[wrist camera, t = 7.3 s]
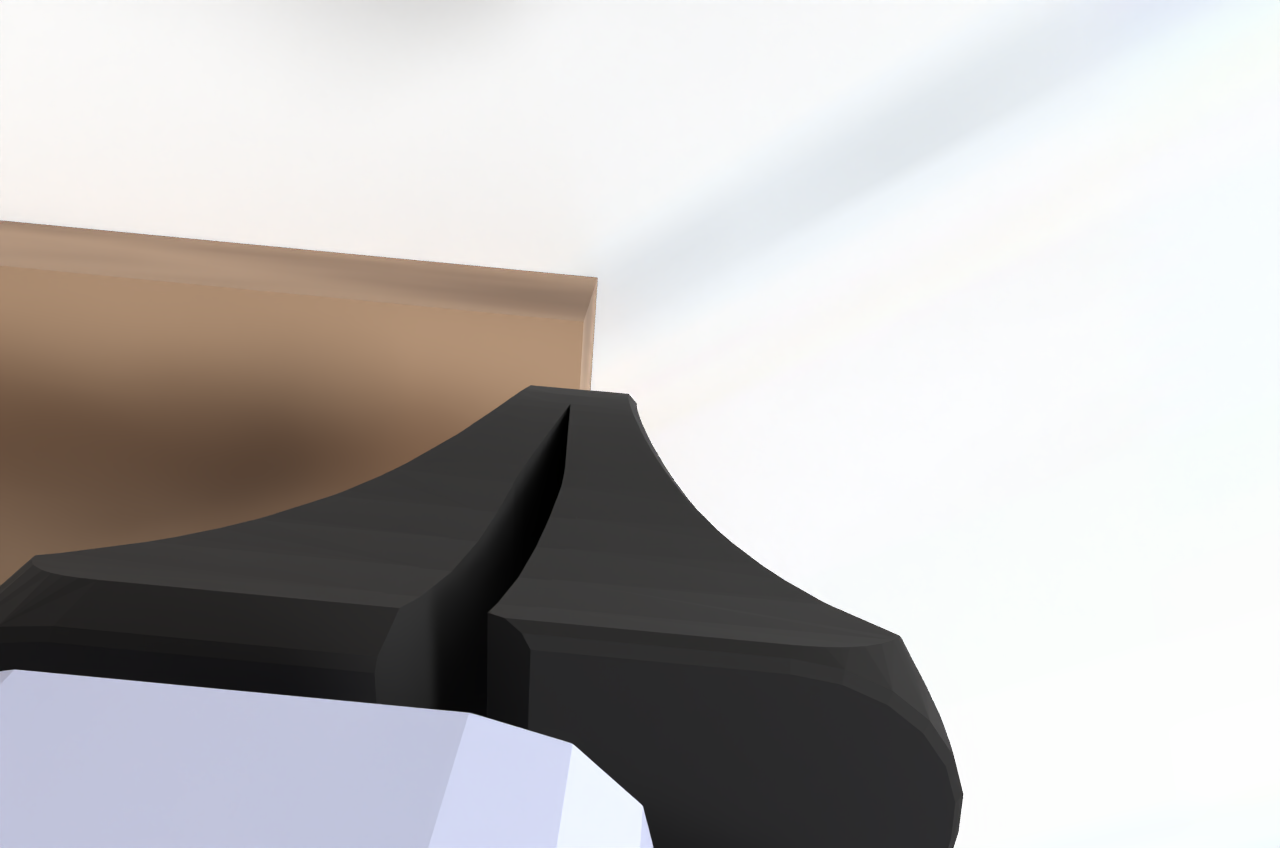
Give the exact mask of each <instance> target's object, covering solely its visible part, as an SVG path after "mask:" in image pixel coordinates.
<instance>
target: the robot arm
mask: <svg viewBox="0 0 1280 848" xmlns="http://www.w3.org/2000/svg"><path fill="white" fill-rule="evenodd" d="M962 800H963V791H962V787H961V783H960V779H959V775H958V771H957V767H956V763H955V759H954V755H953V752H952V748H951V745H950V742H949V739H948V736H947V733H946V731H945V728H944V725H943V722H942V720H941V717H940V715H939V712H938V710H937V708H936V706H935V704H934V702H933V700H932V698H931V696H930V693H929V691H928V689H927V687H926V685H925V683H924V681H923V679H922V677H921V675H920V673H919V671H918V669H917V668H916V666H915V664H914V662H913V660H912V658H911V656H910V654H909V652H908V650H907V648H906V646H905V644H904V642H903V640H902V639H901V637H900V636H899V635H897V634H894V633H892V632H890V631H888V630H885V629H883V628H881V627H878V626H876V625H874V624H871V623H869V622H867V621H865V620H862V619H860V618H858V617H855V616H853V615H851V614H848V613H846V612H844V611H842V610H839V609H837V608H835V607H832V606H830V605H828V604H826V603H824V602H822V601H820V600H818V599H817V598H815V597H813V596H811V595H810V594H808V593H806V592H804V591H803V590H801V589H799V588H797V587H796V586H794V585H792V584H790V583H789V582H787V581H785V580H783V579H782V578H780V577H779V576H777V575H776V574H774V573H773V572H771V571H770V570H768V569H767V568H765V567H763V566H762V565H761V564H759V563H758V562H757V561H755V560H754V559H753V558H751V557H750V556H749V555H747V554H746V553H745V552H743V551H742V550H741V549H740V548H738V547H737V546H736V545H734V544H733V543H732V542H731V541H729V540H728V539H727V538H726V537H725V536H724V535H722V534H721V533H720V532H719V531H718V530H717V529H716V528H715V527H714V526H713V525H712V524H711V523H710V522H709V521H708V520H707V519H706V518H705V517H704V516H703V515H702V514H701V513H700V512H699V511H698V510H697V509H696V508H695V507H694V506H693V504H692V503H691V502H690V501H689V500H688V498H687V497H686V496H685V494H684V493H683V492H682V490H681V489H680V488H679V486H678V485H677V484H676V482H675V481H674V479H673V478H672V476H671V475H670V473H669V472H668V470H667V469H666V467H665V466H664V464H663V462H662V461H661V459H660V457H659V456H658V454H657V452H656V451H655V449H654V447H653V445H652V444H651V442H650V440H649V438H648V436H647V434H646V431H645V429H644V427H643V425H642V422H641V420H640V417H639V414H638V411H637V403H636V402H635V401H634V400H633V399H632V397H631V396H630V395H629V394H623V393H612V392H601V391H590V390H579V389H568V388H557V387H546V386H534V385H530V386H528V387H526V388H525V389H523V390H522V391H520V392H519V393H517V394H516V395H514V396H513V397H511V398H510V399H509V400H507V401H506V402H504V403H503V404H501V405H500V406H499V407H497V408H496V409H494V410H493V411H491V412H490V413H488V414H487V415H485V416H484V417H482V418H481V419H479V420H478V421H476V422H475V423H473V424H472V425H470V426H469V427H467V428H466V429H464V430H463V431H461V432H460V433H458V434H457V435H455V436H453V437H451V438H450V439H448V440H446V441H444V442H443V443H441V444H439V445H437V446H436V447H434V448H432V449H430V450H429V451H427V452H425V453H423V454H422V455H420V456H418V457H416V458H415V459H413V460H411V461H409V462H408V463H406V464H404V465H402V466H400V467H398V468H396V469H394V470H392V471H389V472H387V473H385V474H383V475H381V476H379V477H376V478H374V479H372V480H369V481H367V482H364V483H362V484H360V485H357V486H355V487H353V488H350V489H348V490H345V491H343V492H340V493H337V494H335V495H332V496H329V497H326V498H323V499H320V500H316V501H313V502H310V503H307V504H304V505H301V506H298V507H294V508H291V509H288V510H285V511H282V512H279V513H276V514H272V515H269V516H266V517H262V518H259V519H255V520H251V521H247V522H242V523H238V524H234V525H230V526H226V527H222V528H217V529H212V530H207V531H202V532H197V533H192V534H187V535H183V536H178V537H172V538H166V539H160V540H154V541H149V542H141V543H133V544H126V545H118V546H110V547H102V548H95V549H87V550H79V551H71V552H64V553H54V554H43V555H35V556H34V557H32V558H31V559H30V560H29V561H28V562H27V563H25V564H24V565H23V566H22V567H21V568H20V569H19V570H17V571H16V572H15V573H14V574H13V575H12V576H11V577H10V578H8V579H7V580H6V581H5V582H4V583H3V584H2V585H1V586H0V848H953V847H954V844H955V841H956V838H957V835H958V831H959V823H960V815H961V808H962Z"/></svg>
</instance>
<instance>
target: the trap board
mask: <svg viewBox="0 0 1280 848" xmlns="http://www.w3.org/2000/svg"><path fill="white" fill-rule="evenodd" d="M597 279H598V278H595V277H584V276H574V275H564V274H553V273H543V272H532V271H522V270H511V269H501V268H490V267H480V266H469V265H459V264H449V263H438V262H428V261H417V260H407V259H396V258H386V257H375V256H365V255H355V254H344V253H334V252H323V251H313V250H302V249H292V248H281V247H271V246H260V245H250V244H240V243H229V242H219V241H208V240H198V239H187V238H177V237H166V236H156V235H145V234H135V233H125V232H114V231H104V230H93V229H83V228H72V227H62V226H51V225H41V224H30V223H20V222H10V221H0V586H1V585H2V584H3V583H4V582H5V581H6V580H7V579H8V578H10V577H11V576H12V575H13V574H14V573H15V572H16V571H17V570H19V569H20V568H21V567H22V566H23V565H24V564H25V563H27V562H28V561H29V560H30V559H31V558H32V557H34V556H35V555H43V554H54V553H64V552H71V551H79V550H87V549H95V548H102V547H110V546H118V545H126V544H133V543H141V542H149V541H154V540H160V539H166V538H172V537H178V536H183V535H187V534H192V533H197V532H202V531H207V530H212V529H217V528H222V527H226V526H230V525H234V524H238V523H242V522H247V521H251V520H255V519H259V518H262V517H266V516H269V515H272V514H276V513H279V512H282V511H285V510H288V509H291V508H294V507H298V506H301V505H304V504H307V503H310V502H313V501H316V500H320V499H323V498H326V497H329V496H332V495H335V494H337V493H340V492H343V491H345V490H348V489H350V488H353V487H355V486H357V485H360V484H362V483H364V482H367V481H369V480H372V479H374V478H376V477H379V476H381V475H383V474H385V473H387V472H389V471H392V470H394V469H396V468H398V467H400V466H402V465H404V464H406V463H408V462H409V461H411V460H413V459H415V458H416V457H418V456H420V455H422V454H423V453H425V452H427V451H429V450H430V449H432V448H434V447H436V446H437V445H439V444H441V443H443V442H444V441H446V440H448V439H450V438H451V437H453V436H455V435H457V434H458V433H460V432H461V431H463V430H464V429H466V428H467V427H469V426H470V425H472V424H473V423H475V422H476V421H478V420H479V419H481V418H482V417H484V416H485V415H487V414H488V413H490V412H491V411H493V410H494V409H496V408H497V407H499V406H500V405H501V404H503V403H504V402H506V401H507V400H509V399H510V398H511V397H513V396H514V395H516V394H517V393H519V392H520V391H522V390H523V389H525V388H526V387H528V386H530V385H534V386H546V387H557V388H568V389H579V390H590V387H591V372H592V356H593V341H594V326H595V310H596V295H597Z"/></svg>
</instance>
